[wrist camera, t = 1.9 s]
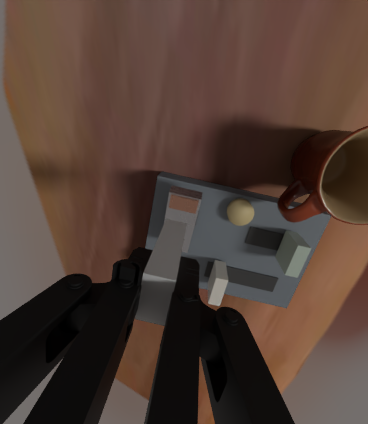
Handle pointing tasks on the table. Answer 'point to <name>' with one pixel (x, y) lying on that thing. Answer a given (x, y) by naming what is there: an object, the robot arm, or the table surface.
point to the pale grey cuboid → (217, 283)
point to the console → (238, 237)
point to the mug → (330, 177)
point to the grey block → (292, 253)
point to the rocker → (184, 210)
